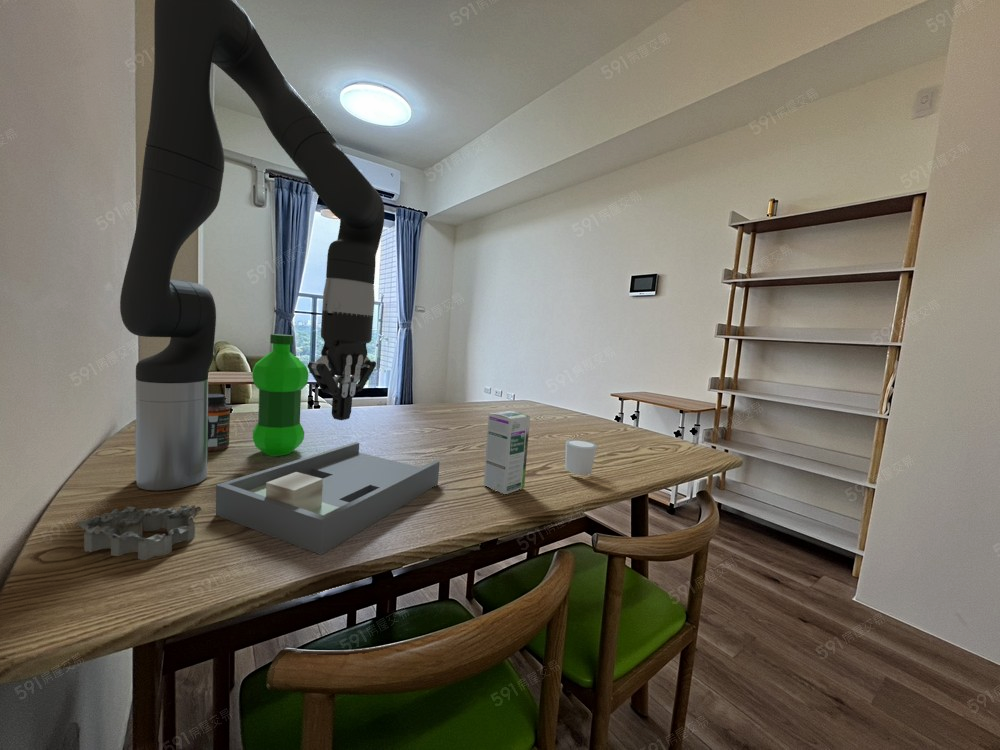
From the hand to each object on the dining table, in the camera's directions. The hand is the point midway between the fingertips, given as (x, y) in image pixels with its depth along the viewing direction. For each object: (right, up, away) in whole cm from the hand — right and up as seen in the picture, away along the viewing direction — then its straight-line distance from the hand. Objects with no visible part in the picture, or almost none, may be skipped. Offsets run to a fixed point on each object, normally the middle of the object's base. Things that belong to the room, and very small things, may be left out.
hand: (340, 418), depth 65 cm
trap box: (-1, -13, +2) cm, 13 cm away
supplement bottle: (-35, -9, +20) cm, 41 cm away
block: (-3, -12, -8) cm, 15 cm away
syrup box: (+26, -15, +13) cm, 33 cm away
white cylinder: (+43, -15, +24) cm, 52 cm away
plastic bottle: (-22, -10, +21) cm, 32 cm away
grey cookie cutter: (-19, -14, -15) cm, 28 cm away
